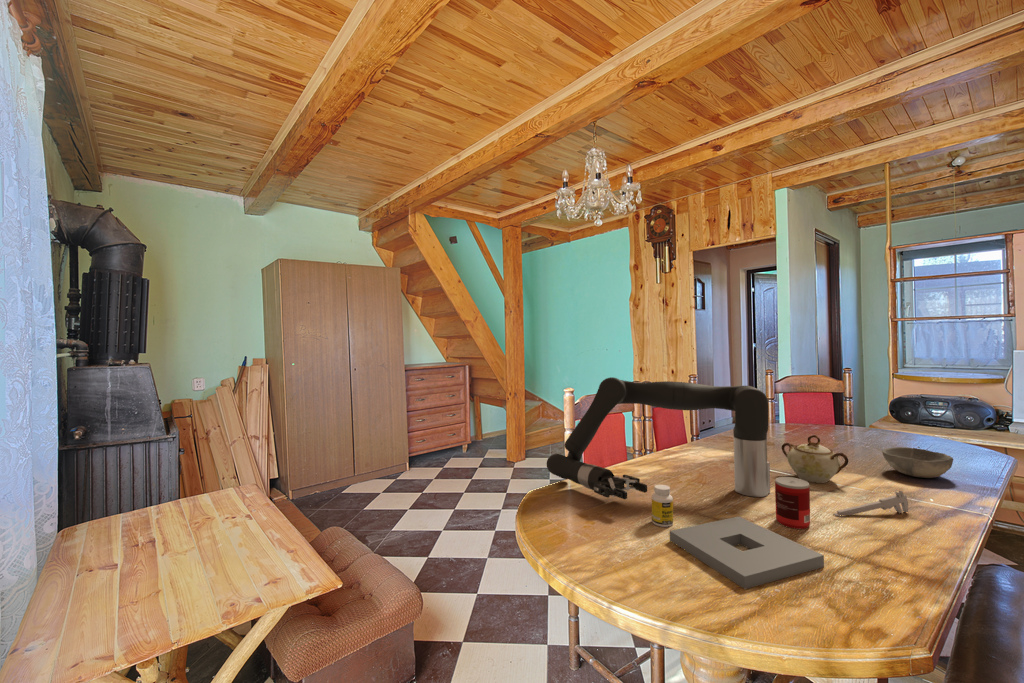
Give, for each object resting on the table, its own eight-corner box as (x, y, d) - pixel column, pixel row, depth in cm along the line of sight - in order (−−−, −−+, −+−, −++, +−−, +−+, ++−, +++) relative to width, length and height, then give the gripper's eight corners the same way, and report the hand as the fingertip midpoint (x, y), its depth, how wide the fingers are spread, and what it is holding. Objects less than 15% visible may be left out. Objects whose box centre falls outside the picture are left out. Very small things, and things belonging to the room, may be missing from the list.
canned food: (805, 518, 117) (804, 477, 117) (814, 531, 110) (813, 487, 110) (772, 515, 120) (771, 475, 120) (779, 527, 112) (779, 485, 112)
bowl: (880, 465, 161) (879, 443, 161) (946, 472, 151) (946, 449, 151) (885, 478, 147) (885, 454, 147) (959, 487, 137) (958, 462, 137)
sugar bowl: (857, 481, 144) (856, 436, 144) (839, 492, 136) (838, 443, 136) (791, 468, 161) (790, 427, 160) (772, 476, 152) (771, 433, 152)
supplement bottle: (663, 529, 113) (662, 491, 113) (647, 521, 118) (646, 485, 118) (677, 524, 116) (677, 487, 116) (662, 517, 120) (661, 482, 120)
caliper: (904, 512, 120) (904, 490, 120) (908, 514, 119) (908, 491, 119) (832, 516, 119) (832, 493, 119) (835, 517, 118) (835, 494, 118)
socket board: (739, 525, 114) (739, 516, 114) (824, 566, 93) (823, 555, 93) (669, 541, 107) (669, 530, 107) (745, 589, 86) (744, 576, 86)
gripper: (578, 470, 133) (619, 484, 120) (611, 462, 141) (652, 474, 128) (579, 495, 133) (619, 511, 120) (611, 485, 141) (653, 499, 128)
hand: (636, 492), depth 124 cm, fingers open, 8 cm apart
